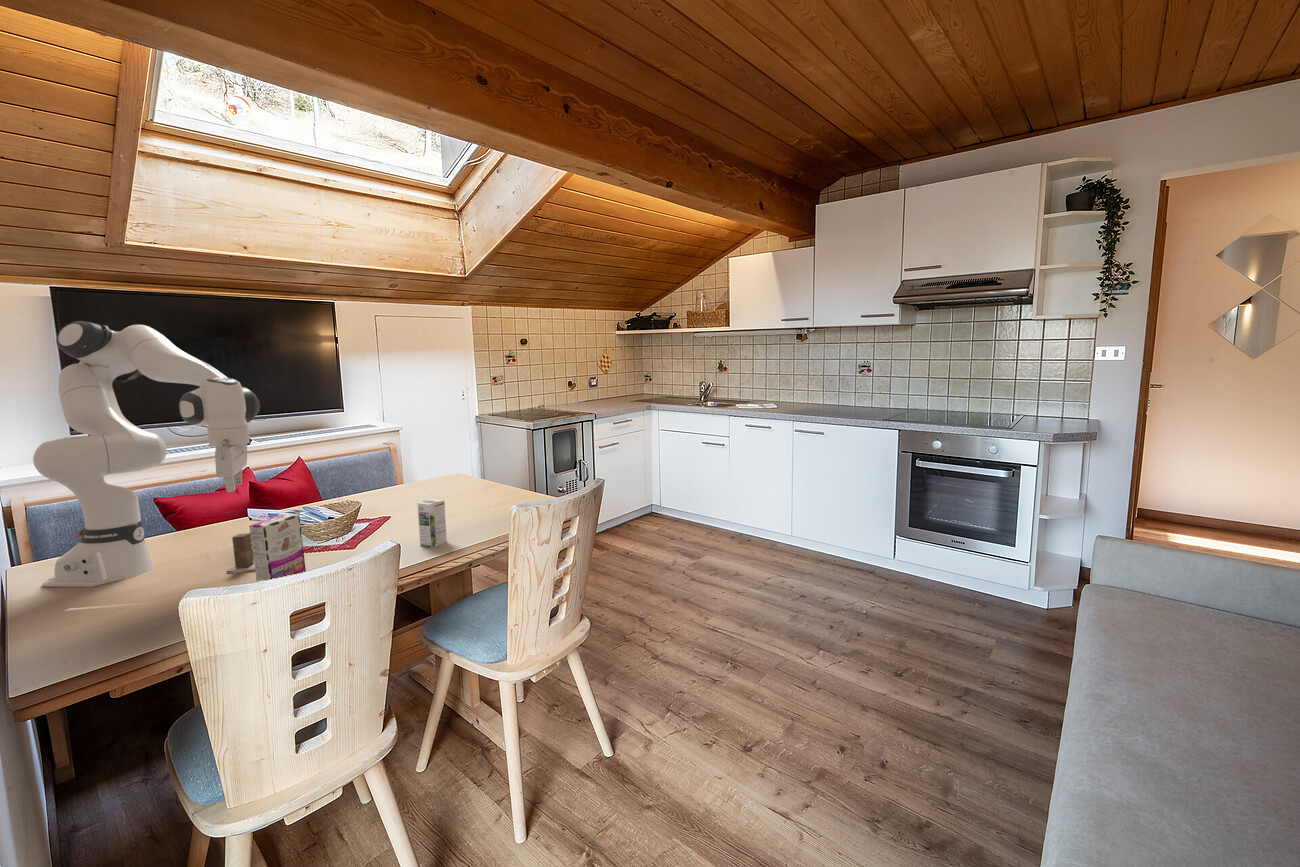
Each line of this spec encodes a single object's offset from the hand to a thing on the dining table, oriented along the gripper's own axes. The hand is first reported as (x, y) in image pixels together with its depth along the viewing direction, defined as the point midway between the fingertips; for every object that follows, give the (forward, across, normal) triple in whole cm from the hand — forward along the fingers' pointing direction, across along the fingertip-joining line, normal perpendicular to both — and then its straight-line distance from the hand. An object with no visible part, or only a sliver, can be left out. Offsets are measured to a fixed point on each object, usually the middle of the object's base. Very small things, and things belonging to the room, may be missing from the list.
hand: (234, 488), depth 153 cm
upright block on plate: (+23, 0, +1) cm, 23 cm away
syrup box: (+23, -7, -49) cm, 55 cm away
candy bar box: (+23, -14, -10) cm, 29 cm away
